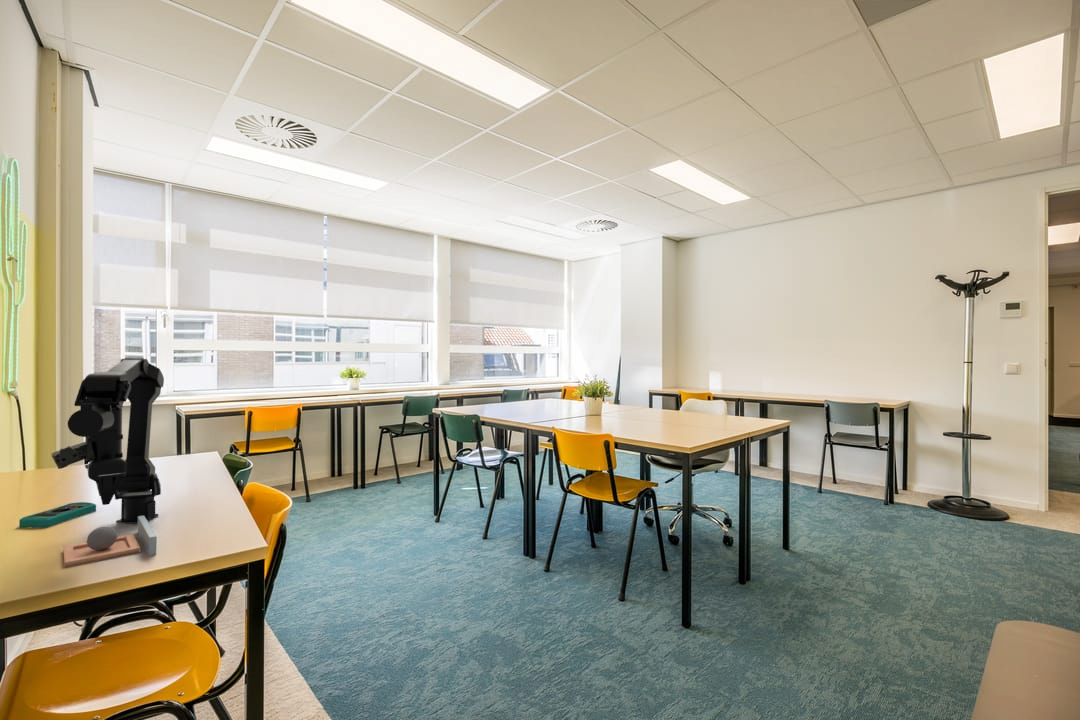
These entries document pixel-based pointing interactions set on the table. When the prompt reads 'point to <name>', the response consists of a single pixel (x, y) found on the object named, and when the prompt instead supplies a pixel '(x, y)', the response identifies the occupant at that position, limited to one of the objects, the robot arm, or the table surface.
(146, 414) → the robot arm
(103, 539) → the rubber ball
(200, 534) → the table surface
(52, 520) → the digital multimeter
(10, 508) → the table surface
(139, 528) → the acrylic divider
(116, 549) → the pad
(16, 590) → the table surface
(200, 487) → the table surface
